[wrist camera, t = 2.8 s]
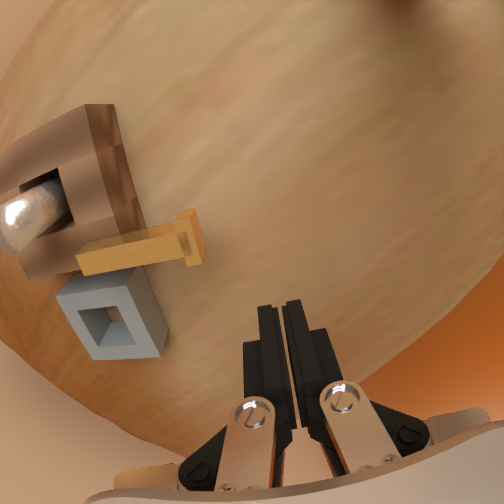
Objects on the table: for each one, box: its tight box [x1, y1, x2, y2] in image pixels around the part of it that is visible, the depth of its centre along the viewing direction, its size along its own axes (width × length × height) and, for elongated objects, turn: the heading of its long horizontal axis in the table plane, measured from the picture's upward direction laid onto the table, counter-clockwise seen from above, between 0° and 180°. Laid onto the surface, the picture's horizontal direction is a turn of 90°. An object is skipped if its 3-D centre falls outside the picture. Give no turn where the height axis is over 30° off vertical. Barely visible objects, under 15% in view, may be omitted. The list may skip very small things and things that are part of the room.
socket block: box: [0, 104, 147, 280], centre depth 24 cm, size 14×14×6 cm
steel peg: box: [0, 175, 71, 254], centre depth 21 cm, size 4×4×12 cm
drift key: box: [75, 208, 206, 276], centre depth 22 cm, size 4×10×2 cm, turn 100°
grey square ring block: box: [55, 265, 169, 360], centre depth 31 cm, size 10×10×5 cm
